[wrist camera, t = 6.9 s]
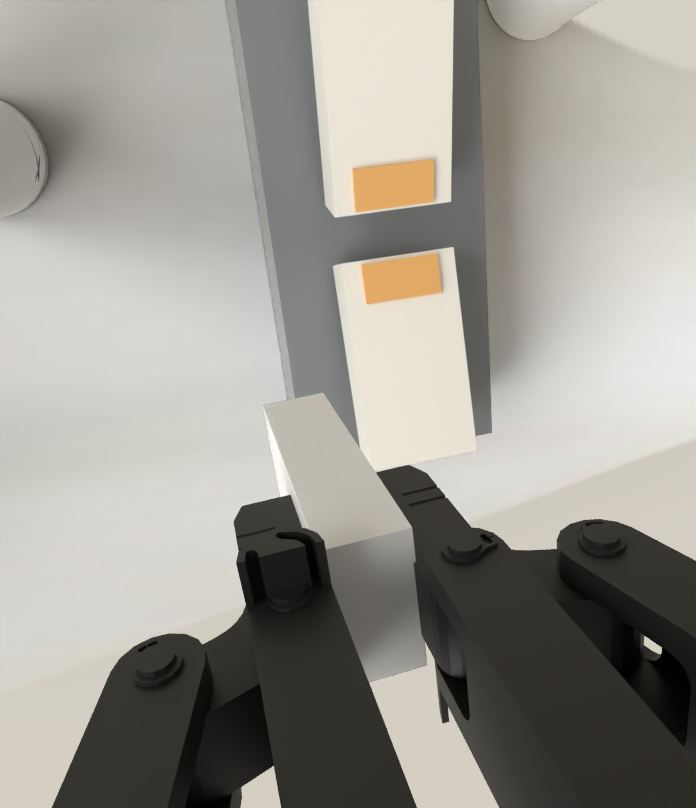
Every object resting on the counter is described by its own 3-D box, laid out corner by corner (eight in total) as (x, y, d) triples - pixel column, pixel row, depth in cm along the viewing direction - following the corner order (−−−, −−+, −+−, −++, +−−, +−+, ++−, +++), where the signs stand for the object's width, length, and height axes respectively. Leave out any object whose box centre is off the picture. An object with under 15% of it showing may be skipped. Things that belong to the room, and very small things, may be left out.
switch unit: (292, 432, 45) (309, 478, 39) (221, -24, 36) (227, -67, 29) (464, 399, 47) (508, 438, 41) (442, -40, 38) (495, -84, 31)
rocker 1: (325, 205, 34) (336, 219, 32) (303, -51, 29) (314, -55, 26) (434, 190, 35) (452, 203, 33) (435, -60, 30) (457, -65, 27)
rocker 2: (362, 461, 38) (372, 473, 35) (332, 265, 36) (341, 263, 33) (461, 441, 39) (478, 451, 36) (438, 250, 36) (455, 246, 34)
